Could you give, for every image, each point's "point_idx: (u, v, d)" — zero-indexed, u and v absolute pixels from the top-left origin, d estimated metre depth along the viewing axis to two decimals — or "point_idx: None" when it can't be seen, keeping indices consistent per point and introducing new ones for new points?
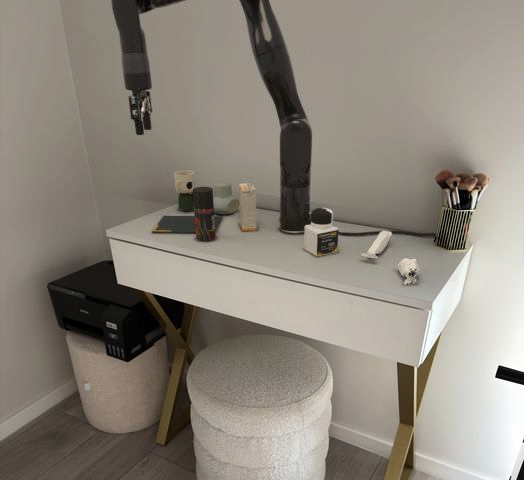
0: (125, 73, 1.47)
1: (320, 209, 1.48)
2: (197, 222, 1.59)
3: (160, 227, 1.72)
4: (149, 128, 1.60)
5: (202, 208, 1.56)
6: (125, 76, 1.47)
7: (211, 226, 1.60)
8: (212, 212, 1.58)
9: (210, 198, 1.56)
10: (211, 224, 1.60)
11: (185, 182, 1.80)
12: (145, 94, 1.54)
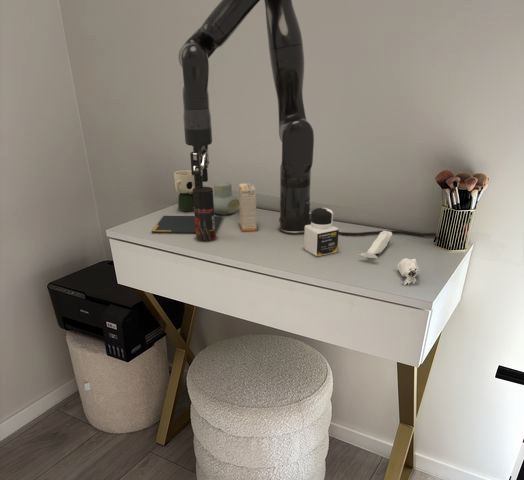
0: (187, 129, 1.45)
1: (320, 209, 1.48)
2: (197, 222, 1.59)
3: (160, 227, 1.72)
4: (206, 180, 1.59)
5: (202, 208, 1.56)
6: (187, 132, 1.46)
7: (211, 226, 1.60)
8: (212, 212, 1.58)
9: (210, 198, 1.56)
10: (211, 224, 1.60)
11: (185, 182, 1.80)
12: (204, 148, 1.52)
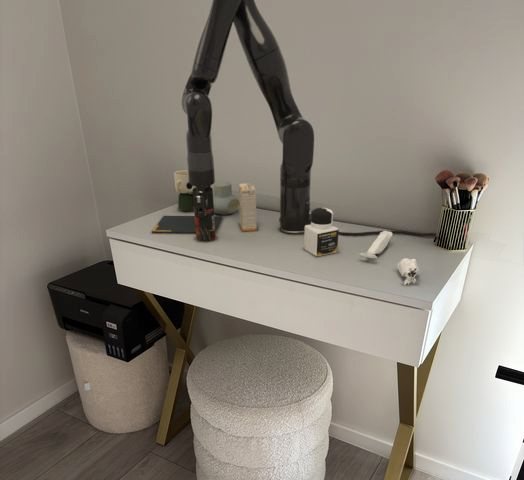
0: (190, 171, 1.51)
1: (320, 209, 1.48)
2: (197, 222, 1.59)
3: (160, 227, 1.72)
4: None
5: None
6: (190, 173, 1.51)
7: (211, 226, 1.60)
8: (212, 212, 1.58)
9: (210, 198, 1.56)
10: (211, 224, 1.60)
11: (185, 182, 1.80)
12: None
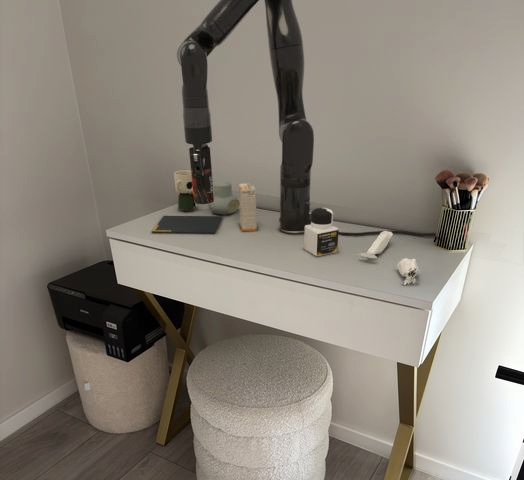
0: (187, 127, 1.45)
1: (320, 209, 1.48)
2: (194, 183, 1.53)
3: (160, 227, 1.72)
4: None
5: (199, 168, 1.50)
6: (186, 130, 1.45)
7: (209, 187, 1.54)
8: (210, 173, 1.52)
9: (207, 157, 1.50)
10: (209, 186, 1.54)
11: (185, 182, 1.80)
12: (204, 146, 1.52)
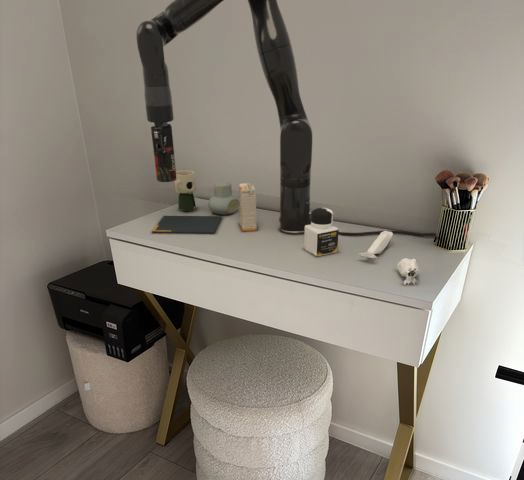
0: (148, 106, 1.49)
1: (320, 209, 1.48)
2: (156, 161, 1.57)
3: (160, 227, 1.72)
4: None
5: None
6: (148, 109, 1.50)
7: (171, 166, 1.58)
8: (171, 151, 1.57)
9: (169, 136, 1.54)
10: (170, 164, 1.58)
11: (185, 182, 1.80)
12: (166, 125, 1.56)
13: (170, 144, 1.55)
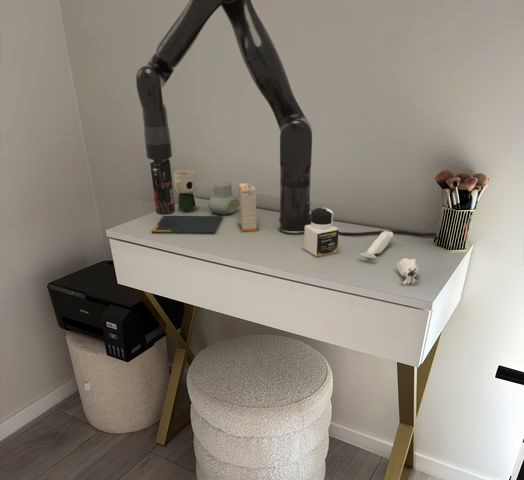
0: (147, 144, 1.56)
1: (320, 209, 1.48)
2: (156, 195, 1.64)
3: (160, 227, 1.72)
4: None
5: None
6: (147, 147, 1.56)
7: (169, 199, 1.65)
8: (170, 185, 1.63)
9: (167, 171, 1.61)
10: (169, 198, 1.64)
11: (185, 182, 1.80)
12: (165, 161, 1.63)
13: (169, 179, 1.62)
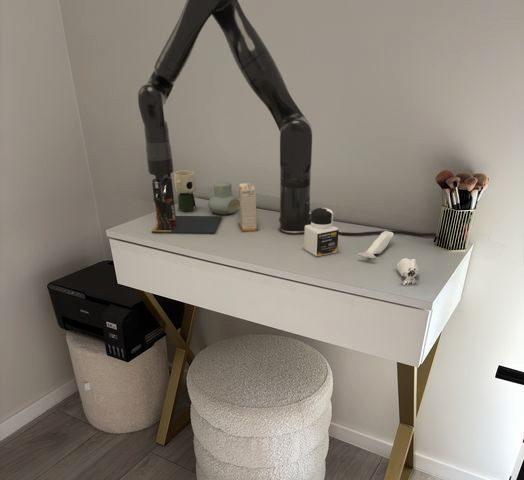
0: (149, 160, 1.58)
1: (320, 209, 1.48)
2: (157, 211, 1.67)
3: None
4: None
5: None
6: (149, 162, 1.59)
7: (171, 215, 1.67)
8: (172, 202, 1.66)
9: (169, 188, 1.63)
10: (171, 214, 1.67)
11: (185, 182, 1.80)
12: (167, 176, 1.65)
13: (170, 196, 1.65)
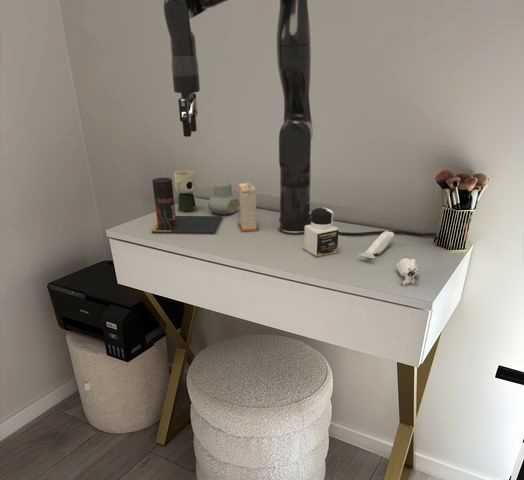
0: (175, 76, 1.50)
1: (320, 209, 1.48)
2: (157, 211, 1.67)
3: None
4: (194, 130, 1.64)
5: (162, 198, 1.64)
6: (175, 79, 1.51)
7: (171, 215, 1.67)
8: (172, 202, 1.66)
9: (169, 188, 1.63)
10: (171, 214, 1.67)
11: (185, 182, 1.80)
12: (192, 96, 1.57)
13: (170, 196, 1.65)
